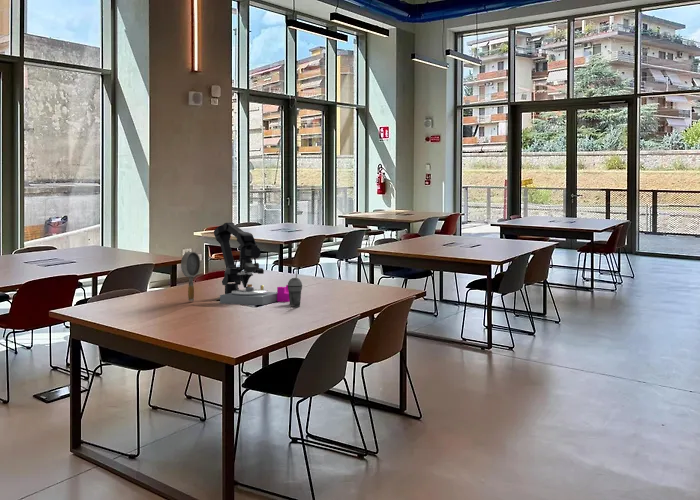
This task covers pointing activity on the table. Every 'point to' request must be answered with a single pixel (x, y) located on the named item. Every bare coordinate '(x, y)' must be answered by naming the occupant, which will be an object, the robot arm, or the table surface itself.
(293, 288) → the beverage cup
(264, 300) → the jig block
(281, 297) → the toy block
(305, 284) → the table surface
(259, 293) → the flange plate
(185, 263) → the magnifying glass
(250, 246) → the robot arm
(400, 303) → the table surface
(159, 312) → the table surface
